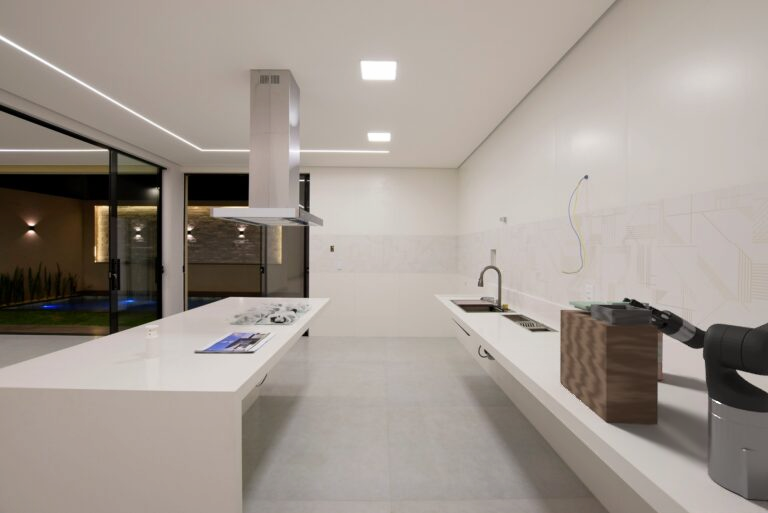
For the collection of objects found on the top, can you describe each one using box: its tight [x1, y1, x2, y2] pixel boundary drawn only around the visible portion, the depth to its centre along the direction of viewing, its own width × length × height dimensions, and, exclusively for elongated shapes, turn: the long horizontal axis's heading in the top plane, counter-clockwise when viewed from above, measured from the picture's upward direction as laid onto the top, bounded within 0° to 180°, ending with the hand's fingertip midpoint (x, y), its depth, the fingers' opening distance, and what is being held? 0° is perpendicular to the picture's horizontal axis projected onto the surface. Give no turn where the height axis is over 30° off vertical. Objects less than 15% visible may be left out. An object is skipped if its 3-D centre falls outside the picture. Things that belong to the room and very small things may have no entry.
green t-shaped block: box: [568, 301, 650, 311], centre depth 112 cm, size 11×23×3 cm, turn 85°
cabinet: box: [559, 304, 659, 426], centre depth 105 cm, size 28×14×32 cm, turn 175°
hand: (627, 300), depth 111 cm, fingers closed on green t-shaped block, 3 cm apart
